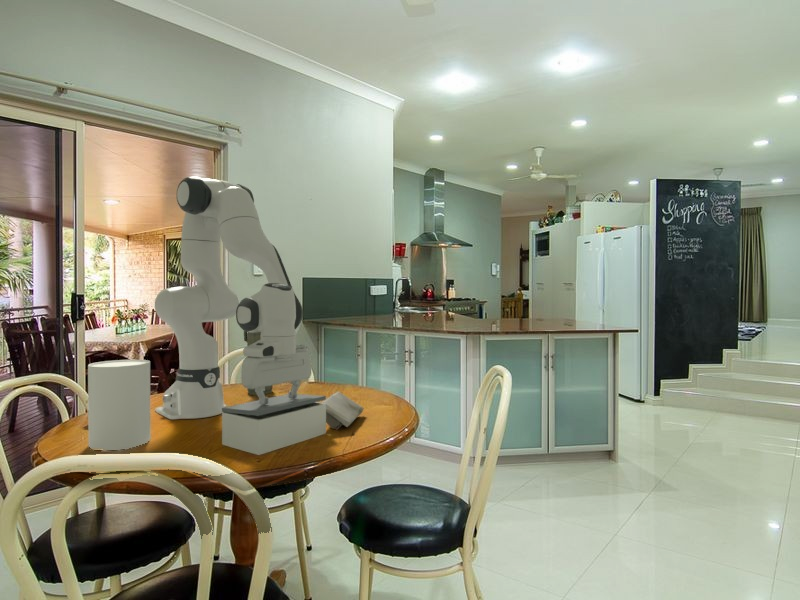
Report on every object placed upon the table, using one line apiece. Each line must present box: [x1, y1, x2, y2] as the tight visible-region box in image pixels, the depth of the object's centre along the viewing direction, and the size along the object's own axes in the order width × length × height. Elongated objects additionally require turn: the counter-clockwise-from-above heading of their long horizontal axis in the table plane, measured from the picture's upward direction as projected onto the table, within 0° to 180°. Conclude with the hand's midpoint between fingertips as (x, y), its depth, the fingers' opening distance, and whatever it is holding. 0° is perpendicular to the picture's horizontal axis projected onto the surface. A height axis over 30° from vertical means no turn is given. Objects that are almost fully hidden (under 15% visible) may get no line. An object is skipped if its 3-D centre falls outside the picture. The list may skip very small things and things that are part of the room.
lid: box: [222, 393, 327, 416], centre depth 129 cm, size 14×22×1 cm, turn 144°
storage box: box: [221, 401, 327, 456], centre depth 129 cm, size 14×22×8 cm, turn 144°
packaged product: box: [320, 390, 365, 431], centre depth 143 cm, size 18×5×10 cm
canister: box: [87, 359, 152, 451], centre depth 125 cm, size 14×14×20 cm
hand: (278, 401), depth 128 cm, fingers open, 8 cm apart
